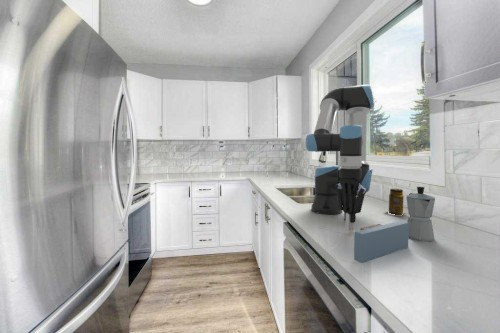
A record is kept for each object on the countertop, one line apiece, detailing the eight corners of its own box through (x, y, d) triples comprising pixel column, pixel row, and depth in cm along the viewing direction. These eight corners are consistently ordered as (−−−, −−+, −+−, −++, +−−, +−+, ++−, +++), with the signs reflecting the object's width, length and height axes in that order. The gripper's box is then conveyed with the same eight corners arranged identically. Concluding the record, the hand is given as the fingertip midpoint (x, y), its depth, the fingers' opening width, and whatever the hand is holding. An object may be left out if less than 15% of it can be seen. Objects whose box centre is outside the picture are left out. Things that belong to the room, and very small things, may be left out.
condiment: (405, 213, 120) (406, 189, 119) (400, 216, 114) (401, 191, 113) (389, 211, 125) (389, 187, 124) (383, 214, 119) (384, 189, 118)
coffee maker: (443, 244, 80) (445, 189, 79) (413, 243, 82) (414, 189, 80) (421, 230, 94) (422, 183, 93) (396, 229, 96) (397, 183, 95)
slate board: (400, 244, 80) (400, 220, 80) (408, 247, 78) (408, 222, 77) (354, 259, 70) (354, 231, 69) (361, 262, 68) (362, 234, 67)
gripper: (329, 167, 94) (329, 227, 96) (359, 169, 83) (358, 237, 85) (343, 166, 98) (342, 224, 100) (373, 168, 87) (371, 233, 88)
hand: (349, 230), depth 92 cm, fingers closed
